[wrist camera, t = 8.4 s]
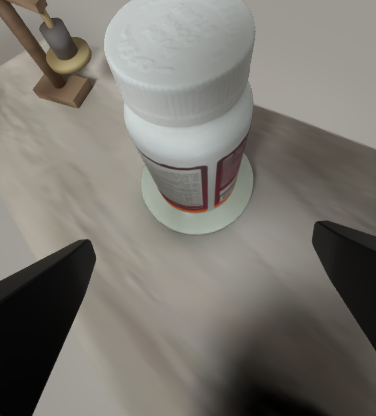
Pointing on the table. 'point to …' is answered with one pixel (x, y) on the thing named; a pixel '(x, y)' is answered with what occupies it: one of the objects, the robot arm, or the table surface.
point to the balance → (52, 53)
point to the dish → (203, 221)
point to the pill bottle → (185, 93)
